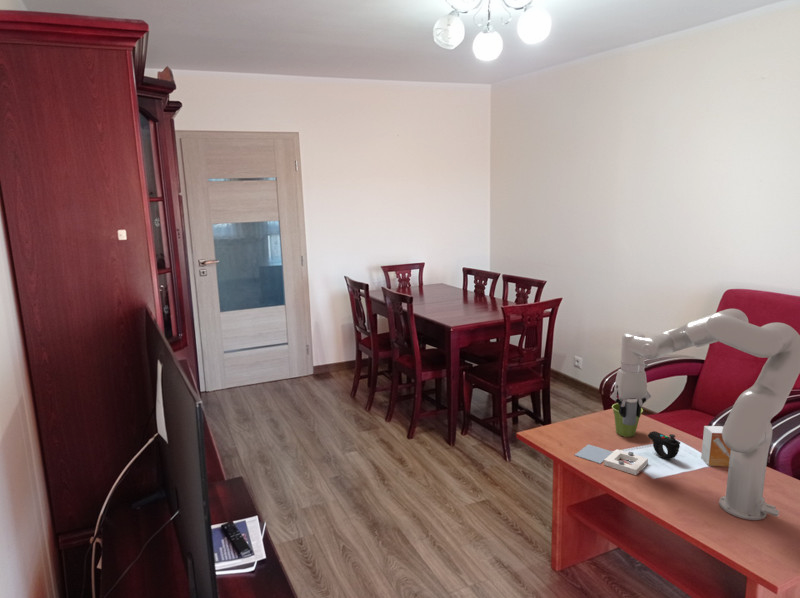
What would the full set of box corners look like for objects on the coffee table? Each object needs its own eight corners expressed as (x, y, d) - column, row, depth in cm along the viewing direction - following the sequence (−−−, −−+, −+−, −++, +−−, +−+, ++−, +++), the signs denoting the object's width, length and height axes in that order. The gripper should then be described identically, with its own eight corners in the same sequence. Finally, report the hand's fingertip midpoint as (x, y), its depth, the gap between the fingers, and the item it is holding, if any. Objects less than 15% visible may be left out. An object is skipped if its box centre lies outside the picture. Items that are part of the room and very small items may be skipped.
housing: (647, 463, 198) (648, 456, 197) (635, 475, 190) (636, 467, 189) (616, 453, 206) (616, 447, 205) (603, 464, 197) (604, 457, 197)
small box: (708, 466, 195) (711, 432, 193) (700, 458, 201) (703, 425, 199) (732, 467, 194) (735, 433, 192) (723, 458, 200) (726, 425, 198)
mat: (613, 452, 207) (613, 451, 206) (600, 463, 198) (600, 463, 198) (588, 444, 213) (588, 444, 213) (574, 455, 205) (574, 454, 205)
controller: (672, 465, 196) (674, 439, 195) (645, 450, 208) (646, 426, 206) (680, 462, 198) (683, 437, 196) (653, 448, 209) (655, 424, 207)
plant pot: (646, 440, 217) (647, 413, 215) (616, 440, 217) (617, 413, 215) (634, 427, 228) (636, 402, 226) (606, 427, 229) (607, 402, 227)
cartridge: (632, 420, 197) (634, 394, 195) (638, 425, 192) (640, 398, 190) (620, 420, 197) (621, 394, 195) (625, 425, 192) (627, 399, 190)
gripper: (650, 363, 195) (647, 411, 198) (604, 364, 194) (602, 412, 197) (661, 369, 187) (658, 419, 190) (613, 371, 187) (610, 420, 190)
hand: (629, 415), depth 194 cm, fingers closed on cartridge, 4 cm apart
